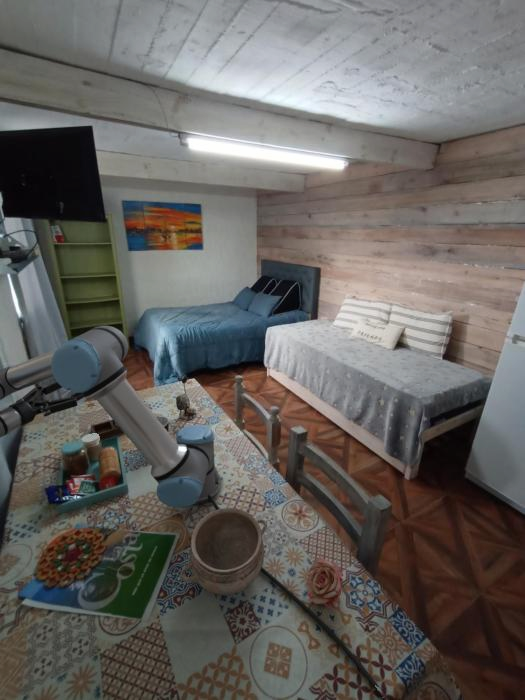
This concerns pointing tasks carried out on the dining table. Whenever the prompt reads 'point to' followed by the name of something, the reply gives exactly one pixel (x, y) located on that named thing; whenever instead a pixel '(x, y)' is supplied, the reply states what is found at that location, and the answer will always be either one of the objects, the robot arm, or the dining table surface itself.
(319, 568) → the flower
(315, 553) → the dining table surface
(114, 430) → the holder
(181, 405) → the plant with pod
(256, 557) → the cooking pot
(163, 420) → the coffee mug
